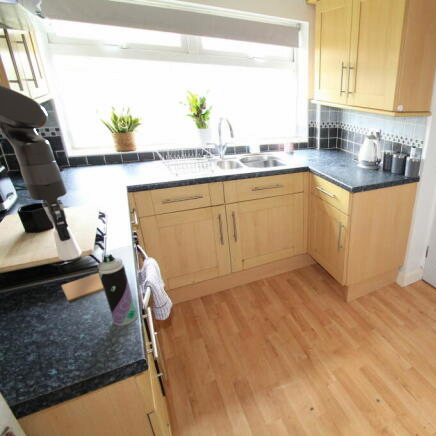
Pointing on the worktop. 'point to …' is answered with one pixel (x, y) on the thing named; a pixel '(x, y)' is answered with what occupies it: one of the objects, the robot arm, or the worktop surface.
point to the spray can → (117, 290)
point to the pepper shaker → (67, 246)
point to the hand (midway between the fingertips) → (63, 236)
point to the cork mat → (82, 287)
